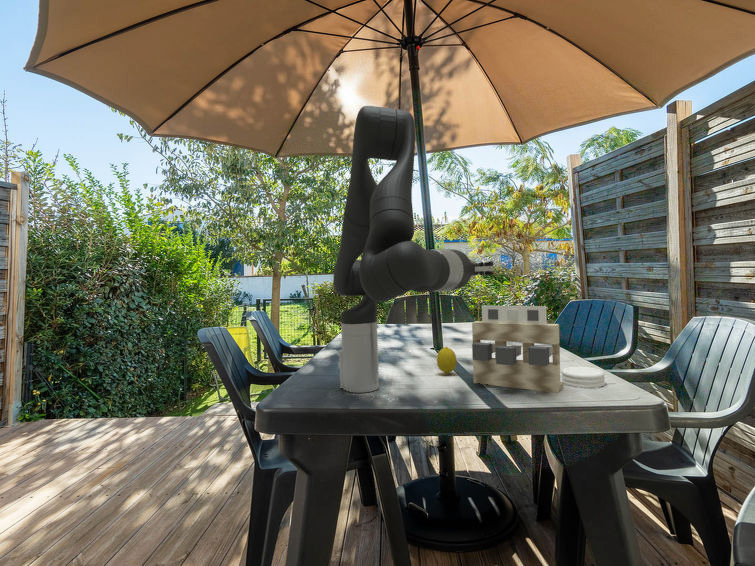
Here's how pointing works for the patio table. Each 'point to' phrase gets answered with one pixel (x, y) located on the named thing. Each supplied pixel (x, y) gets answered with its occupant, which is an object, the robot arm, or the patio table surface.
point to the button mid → (507, 354)
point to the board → (521, 371)
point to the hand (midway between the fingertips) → (479, 268)
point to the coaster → (583, 377)
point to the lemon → (446, 360)
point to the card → (514, 314)
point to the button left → (483, 351)
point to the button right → (539, 355)
